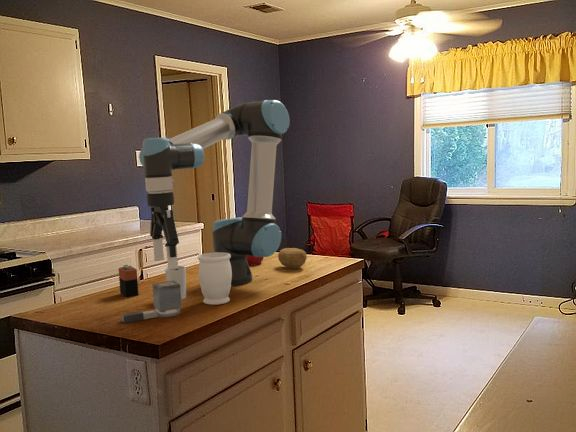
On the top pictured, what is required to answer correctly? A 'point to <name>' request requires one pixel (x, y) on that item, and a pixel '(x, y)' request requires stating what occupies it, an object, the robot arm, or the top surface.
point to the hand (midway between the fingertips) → (165, 264)
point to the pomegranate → (253, 260)
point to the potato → (292, 257)
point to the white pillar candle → (178, 278)
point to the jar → (215, 277)
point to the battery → (128, 281)
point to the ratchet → (148, 315)
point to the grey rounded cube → (167, 295)
